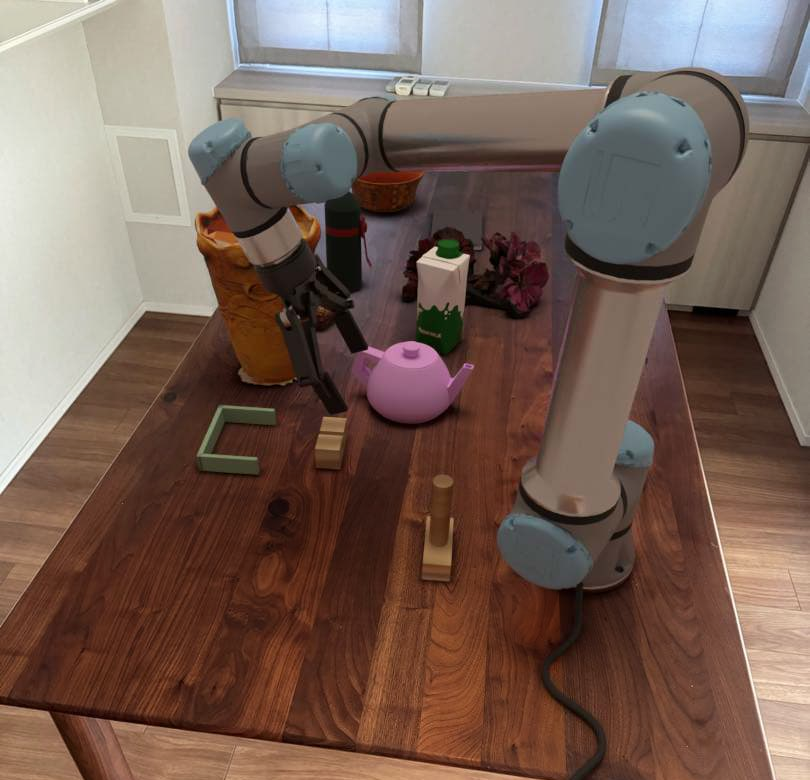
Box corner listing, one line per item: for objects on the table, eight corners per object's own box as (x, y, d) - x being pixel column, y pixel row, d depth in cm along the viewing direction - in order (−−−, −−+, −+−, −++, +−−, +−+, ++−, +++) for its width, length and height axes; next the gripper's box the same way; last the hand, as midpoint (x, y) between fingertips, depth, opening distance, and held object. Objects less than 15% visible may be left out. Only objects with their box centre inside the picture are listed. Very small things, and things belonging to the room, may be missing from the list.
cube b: (344, 451, 134) (343, 432, 131) (320, 449, 134) (319, 430, 132) (347, 437, 137) (346, 418, 134) (324, 435, 137) (323, 416, 134)
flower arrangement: (398, 310, 170) (399, 241, 160) (410, 270, 185) (412, 205, 174) (543, 323, 168) (554, 254, 158) (545, 281, 182) (555, 216, 172)
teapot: (339, 417, 141) (337, 358, 133) (364, 372, 152) (363, 315, 144) (460, 437, 138) (466, 377, 129) (476, 390, 149) (482, 332, 140)
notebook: (433, 214, 209) (430, 248, 194) (433, 208, 208) (430, 242, 192) (481, 216, 209) (481, 251, 193) (482, 210, 207) (482, 244, 192)
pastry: (276, 325, 164) (274, 299, 160) (299, 299, 173) (297, 274, 169) (326, 334, 162) (325, 308, 158) (346, 308, 171) (345, 282, 167)
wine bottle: (370, 295, 175) (369, 151, 154) (324, 292, 176) (317, 148, 155) (374, 279, 181) (374, 138, 160) (329, 276, 181) (324, 135, 160)
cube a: (340, 469, 131) (339, 450, 128) (316, 468, 131) (314, 448, 128) (343, 454, 133) (342, 435, 131) (319, 453, 134) (318, 433, 131)
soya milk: (466, 339, 162) (475, 243, 148) (447, 359, 156) (454, 262, 143) (428, 328, 165) (433, 233, 151) (408, 348, 159) (411, 251, 145)
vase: (201, 397, 145) (171, 235, 124) (233, 341, 159) (211, 188, 138) (314, 408, 143) (303, 246, 122) (336, 351, 158) (330, 197, 137)
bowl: (437, 202, 215) (439, 164, 208) (395, 229, 201) (396, 188, 195) (373, 186, 222) (373, 148, 215) (328, 210, 209) (327, 170, 202)
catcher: (258, 474, 129) (256, 460, 127) (199, 470, 130) (196, 456, 127) (276, 422, 140) (274, 408, 138) (221, 419, 140) (219, 404, 138)
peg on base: (449, 581, 113) (456, 506, 103) (421, 579, 113) (425, 504, 103) (452, 533, 120) (459, 459, 110) (426, 531, 120) (430, 457, 110)
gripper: (279, 208, 109) (346, 332, 123) (221, 317, 94) (305, 444, 108) (327, 192, 106) (389, 321, 120) (275, 302, 91) (354, 435, 105)
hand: (350, 380), depth 114 cm, fingers open, 13 cm apart
